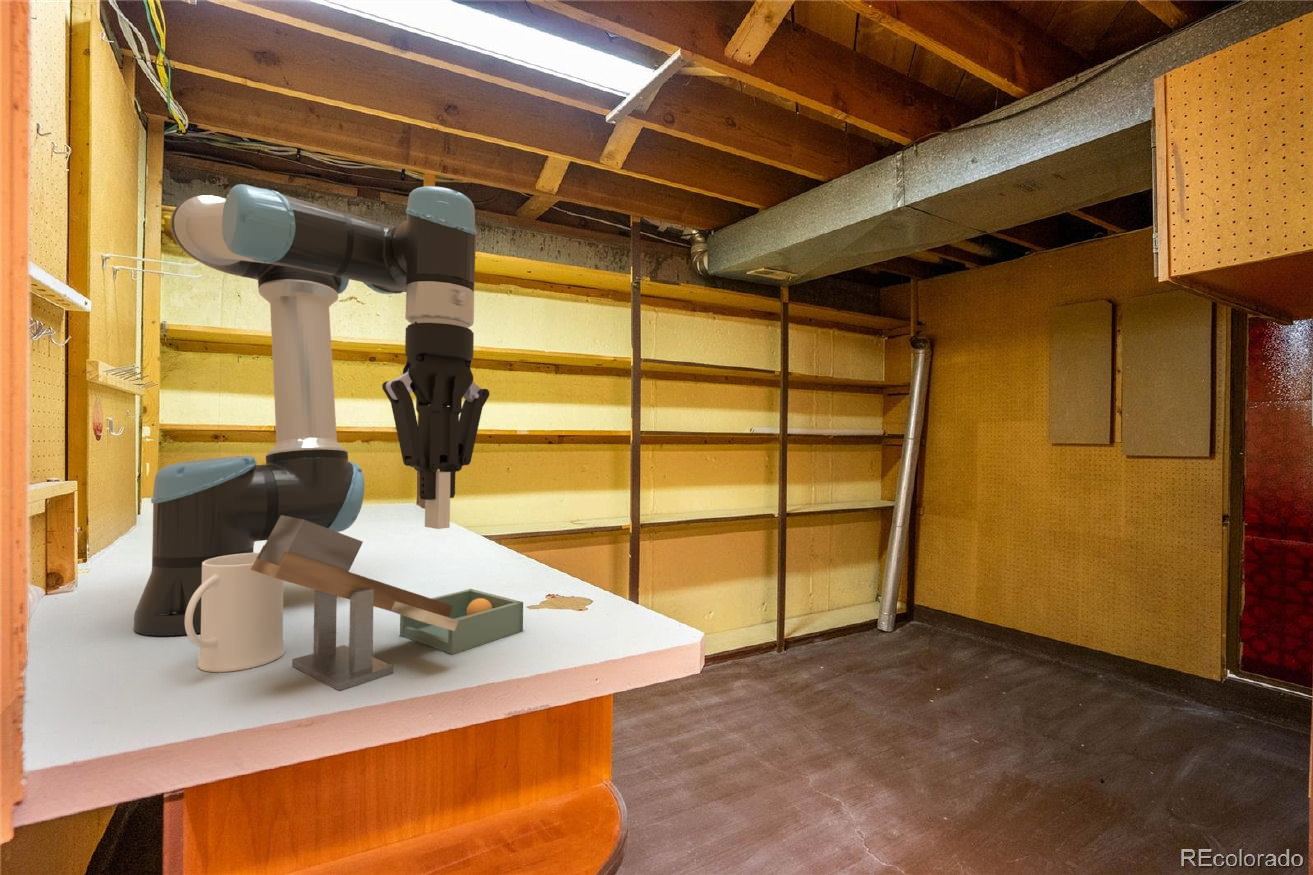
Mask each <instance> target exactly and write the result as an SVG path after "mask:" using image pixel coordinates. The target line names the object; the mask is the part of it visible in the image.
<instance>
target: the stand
mask: <svg viewBox="0 0 1313 875" xmlns="http://www.w3.org/2000/svg"><path fill="white" fill-rule="evenodd" d="M337 598H338V596H336V595H332V594H329V593H325V592H322V591H319V590H315V589H314V598H313V599H314V600H313V602H314V603H313V605H314V606H313V653H310V654H307V655H303V656H300V657H295V658H292V659H291V660H292V663H291V664H292V665H291V666H292V667H293V668H295V669H297V670H299V671H301V672H303V673H304V674H306V675H308V676H310V677H312V678H314V679H316V680H317V681H319V682H321V683H324V684H325V685H328V686H329V687H330V688H333V689H335V690H337V691H338V692H340V691H343V690H346V689H349V688H352V687H355V686H359V685H361V684H365V683H367V682H370V681H372V680H373V681H374V680H376V679H379V678H382V677H384V676H385V677H386V676H388V675H391V674H394V665H392V664H390V663H388V662H385V661H383V660H380V659H378V658H377V657H374V656H373V653H374V649H373V648H374V646H373V645H374V606H373V602H374V589H372V588H369V587H367V588H362V589H357V590H352V591H350V599H349V636H348V637H349V639H348V642H349V643H348V645H349V646H348V645H346V644H343V645H340V646H337V610H338V609H337V603H338V602H337V600H338V599H337Z"/></svg>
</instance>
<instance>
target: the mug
mask: <svg viewBox="0 0 1313 875" xmlns="http://www.w3.org/2000/svg"><path fill="white" fill-rule="evenodd" d="M259 553H260V552H253V553H242V554H233V555H226V556H220V557H215V558H211V559H208V560H205V561H203V562H202V584H201V585H200V586H199V588H198V589H197V590H196V591H195V593H194V594H193V596H192V597H191V599H190V601H189V603H188V606H187V609H186V613H185V630H186V633H187V634H186V635H187V638H188V639H189V641H190V642H191V643H192V644H193V645H195V646H196V647H198V648H200V650H199V655H198V656H199V657H198V661H197V668H198V669H199V670H201V671H203V672H204V671H205V672H209V673H228V672H229V673H230V672H237V671H243V670H244V671H245V670H248V669H252V668H253V669H254V668H257V667H261V666H263V665H267V664H269V663H272V662H274V661H276V660H277V659H279V658H281V657H283V656H284V655H285V650H286V649H285V645H284V584H285V583H284V582H285V581H284V580H280V579H277V578H274V577H271V576H268V575H265V574H262V573H259V572H256V571H253V570H250V569H251V568H252V566H253V564H254V562H255V560H256V558H257V557H258V555H259ZM200 598H201V633H200V637H199V636H198V635H197V633H195V631H194V628H193V614H194V610H195V607H196V604H197V602H198V601H199V599H200Z"/></svg>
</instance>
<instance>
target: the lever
mask: <svg viewBox="0 0 1313 875" xmlns="http://www.w3.org/2000/svg"><path fill="white" fill-rule="evenodd" d="M363 542H364V541H362V540H360V539H358V538H355V537H352V536H349V535H346V534H344V533H341V532H336V531H333V530H330V529H328V528H325V527H322V526H320V525H317V524H314V523H312V522H309V521H306V520H303V519H298V518H293V517H288V516H283V515H281V516H280V518H279V520H278V521H277V523H276V525H275V527H274V529H273V531H272V532H271V534H270V536H269V538H268V540H266V542H265V544H264V545H263V546H262V548H261V549H260V551H259V552H258V553H259V555H258V557H257V558H256V560H255V562H254V564H253V566H252V568H251V569H250V570H253V571H256V572H259V573H262V574H265V575H268V576H271V577H274V578H277V579H280V580H284V582H288V583H291V584H294V585H299V586H302V587H305V588H308V589H312V590H314V591H315V590H319V591H322V592H325V593H329V594H332V595H336V596H337V597H340V598H344V599H348V600H350V591H352V590H357V589H362V588H367V587H369V588H372V589H374V602H373V608H374V607H375V608H378V609H381V610H385V611H389V612H392V613H394V614H398V615H399V616H400V615H403V616H406V617H409V618H412V619H415V620H418V621H421V622H424V623H428V624H432V625H435V626H439V627H442V628H446V629H449V630H453V631H455V629H456V626H457V624H458V620H455V619H452V618H449V615H450V613H451V610H452V608H453V606H452V605H449V604H446V603H443V602H440V601H437V600H434V599H431V598H432V597H431V598H430V597H428V596H424V595H421V594H418V593H415V592H412V591H409V590H406V589H403V588H400V587H397V586H394V585H391V584H387V583H385V582H381V581H378V580H375V579H373V578H369V577H366V576H363V575H360V574H358V573H357V574H356V573H354V572H352V571H350V570H351V568H352V565H353V564H354V561H355V559H356V558H357V555H358V553H359V551H360V549H361V547H362V545H363Z"/></svg>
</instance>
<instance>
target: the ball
mask: <svg viewBox="0 0 1313 875" xmlns="http://www.w3.org/2000/svg"><path fill="white" fill-rule="evenodd" d="M489 609H493V608H492V605H491V603H490V602H489V601H488V600H486V599H483V598H478V599H475V600H473V601H472V602H471V603H470V604H469V605H468V607H467V610H466V615H467V616H468V615H471V614H475V613H479V612H482V611H486V610H489Z"/></svg>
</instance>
